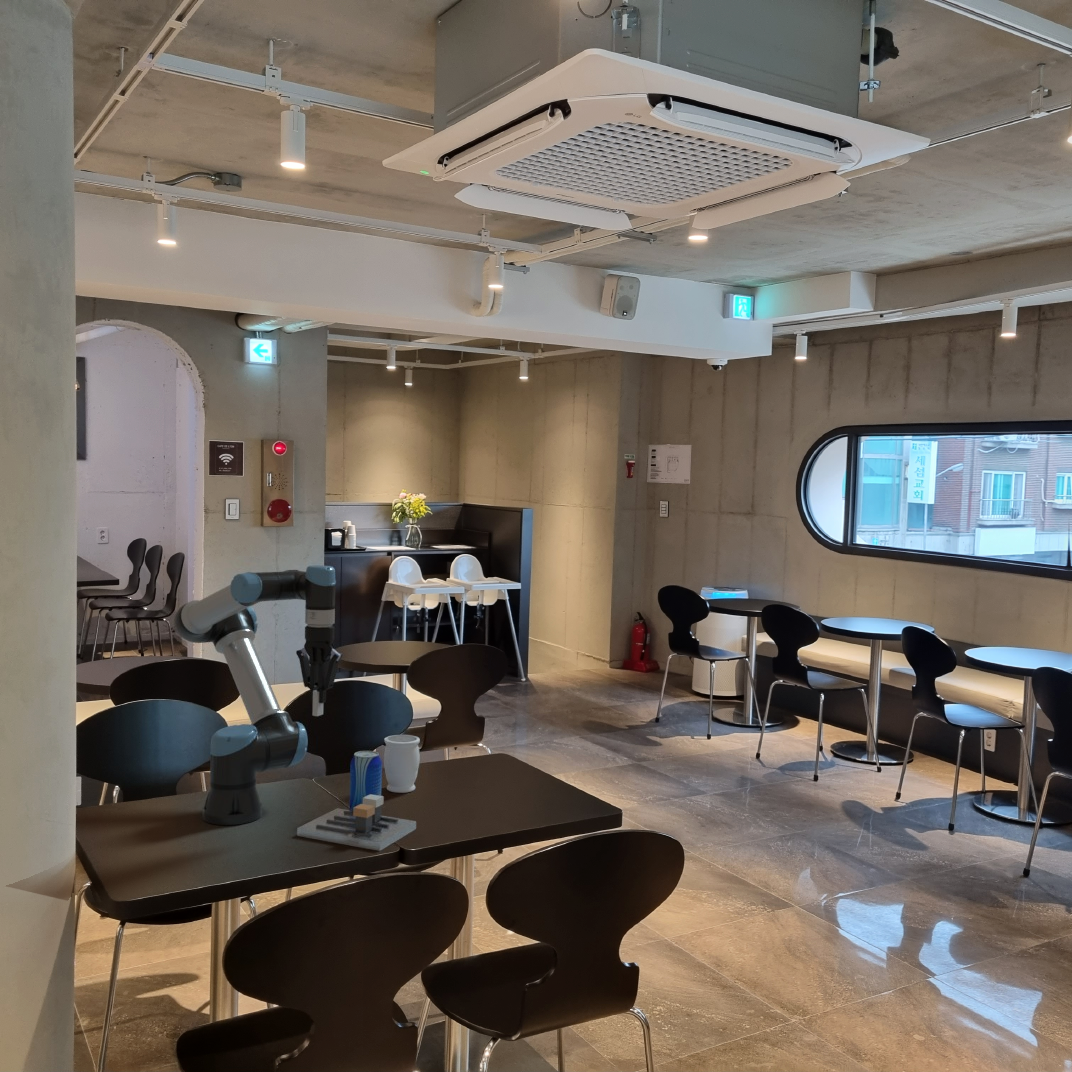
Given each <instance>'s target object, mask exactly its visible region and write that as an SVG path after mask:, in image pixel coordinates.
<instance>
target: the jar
mask: <svg viewBox="0 0 1072 1072" xmlns="http://www.w3.org/2000/svg"><path fill="white" fill-rule="evenodd" d="M420 741H421V740H420V737H418V736H415V735H411V734H395V735H389V736H386V737H385V738H384V743H385V748H384V754H383V766H384V771H385V778H386V781H387V783H388V784H387V786H386V790H387V791H389V792H391V793H396V794H405V793H409V792H413V791H415V789H416V785H415V784H414V783H416V780H417V777H418V772H419V767H420V760H421V758H420V757H421V756H420V748H419V744H420Z"/></svg>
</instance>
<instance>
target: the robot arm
mask: <svg viewBox="0 0 1072 1072" xmlns="http://www.w3.org/2000/svg"><path fill="white" fill-rule="evenodd" d="M232 578H233V579H232V580H231V582H230V584H229V585H227V586H225V587H223V588H221V589H219V590H218V591H216V592H214V593H212V594H210V595H208V596H206V597H204V598H202V599H200V600H199V599H196V600H195V599H194V600H191V601H188V602H185V604H183V605H181V607H179V608H178V610H177V611H176V612H175V614H174V617H173V625H174V629H175V631H176V632H177V634H178V635H179V636H180V637H181V638H182V639H183V640H185V641H187V642H191V643H195V644H202V643H203V644H206V643H212V644H213V646H214V648H215V651H216V652H217V653H219V654H223V656H224V659H225V661H226V664H227V665H228V667H229V671H230V674H231V675H232V679H233V680H234V683H235V686H236V688H237V690H238V692H239V695H240V698H241V699H242V700H241V701H242V703H243V705H244V707H245V710H246V713H247V715H248V718H249V720H250V723H251V724H248V723H243V724H242V723H241V724H234V725H228V726H225V727H223V728H220V729H218V730H217V731H216V732H214V734H212V736H211V739H210V748H209V753H210V757H209V758H210V761H209V762H210V764H209V765H210V766H209V767H210V768H209V771H210V772H209V773H210V774H209V777H210V779H209V780H210V782H209V784H210V785H209V790H208V793H207V797H206V800H205V803H204V806H203V808H202V820H203V821H204V822H206V823H208V824H212V825H219V826H234V825H241V824H247V823H250V822H254V821H256V820H258V819H260V818H261V817H263V816H262V815H263V805H262V802H261V800H260V796H259V795H260V794H259V792H258V789H257V774H259V773H264V772H268V771H269V772H270V771H273V770H278V769H283V768H284V769H285V768H289V767H291V766H295V765H298V764H300V763H301V762H302V761H303V759H304V758H305V755H306V754H307V751H308V733H307V730H306V727H305V725H303V723H301V722H299V721H293V720H292V717H291V715H290V714H289V712H287V711H285V710H282V709H281V707H280V704H279V702H278V700H277V697H276V695H275V692H274V689H273V687H272V685H271V683H270V680H269V678H268V676H267V674H266V671H265V669H264V666H263V664H262V662H261V659H260V656H259V655H258V654H259V653H258V652H257V650H256V647H255V645H254V640H255V638H256V633H257V629H258V624H259V623H257V621H258V617H257V613H256V612H255V609H254V608H253V607H252V606H254V605H256V604H258V603H261V602H270V601H271V602H272V601H273V602H274V601H287V600H291V601H292V600H300V601H301V600H303V601H305V604H304V605H305V610H304V611H305V612H304V613H305V616H304V620H305V621H304V622H305V623H304V624H305V626H304V640H305V643H304V645H303V647H302V648H301V649H298V650H296V652H295V653H296V656H297V658H298V659H299V665H300V669H301V670H300V671H301V676H302V683H303V687H304V688H308V689H309V690H310V697H309V698H310V702H311V703H312V713H311V714H312V716H314V717H319V716H322V715H324V703H326V701H327V690H329V689H333V687H334V685H335V684H334V683H335V679H336V675H337V673H338V672H337V671H338V667H339V662H340V661H341V659H342V658H343V653H341V652H338V651H337V650H336V649H335V645H334V640H335V626H334V624H336V623H335V618H336V616H335V615H336V611H335V610H336V609H335V608H336V607H335V606H336V584H337V580H336V569H335V568H334V567H333V566H332V565H320V564H319V565H308V566H307V567H306V571H304V570H298V569H285V570H283V571H268V572H267V571H265V572H264V571H263V572H260V571H259V572H251V571H250V572H249V571H248V572H243V573H237V574H236V575H234V576H233V577H232Z"/></svg>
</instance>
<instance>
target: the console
mask: <svg viewBox="0 0 1072 1072" xmlns="http://www.w3.org/2000/svg"><path fill="white" fill-rule="evenodd" d="M355 820H356V816H353V811H351V809H343V808H338V807H336V808H335V809H333V810H331V811H329V812H326V813H325V814H323V815H321V816H318V817H317V818H314V819H312V820H311V821H308V822H307V823H305V824H303V825H301V826H298V827H297V830H296V836H298V837H303V838H307V839H313V840H318V841H322V842H327V843H335V844H338V845H339V844H340V845H345V846H352V847H357V848H361V849H366V850H367V849H368V850H373V851H379V852H380V851H382V850H384V849H385V848H387V847H388V846H389V847H390V846H391V845H392V844H393V843H395V842H397V841H398V840H400V839H402V838H404V837H405V836H406V835H409V834H410V833H412V832H414V831H415V830H416V829H417V821H416V820H411V819H406V818H405V819H404V818H399V817H393V816H386V815H381V819H380V820H379V821H377V822H372V830H371V831H369V832H367V833H364V832H358V831H355Z"/></svg>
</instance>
